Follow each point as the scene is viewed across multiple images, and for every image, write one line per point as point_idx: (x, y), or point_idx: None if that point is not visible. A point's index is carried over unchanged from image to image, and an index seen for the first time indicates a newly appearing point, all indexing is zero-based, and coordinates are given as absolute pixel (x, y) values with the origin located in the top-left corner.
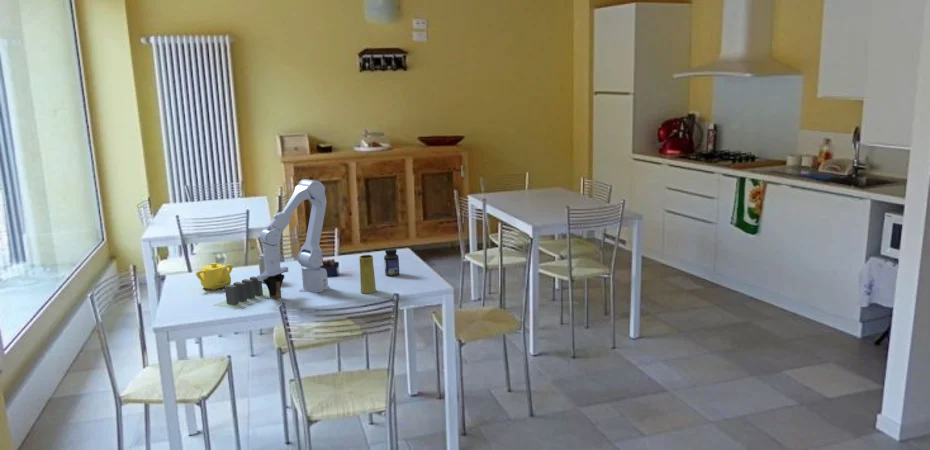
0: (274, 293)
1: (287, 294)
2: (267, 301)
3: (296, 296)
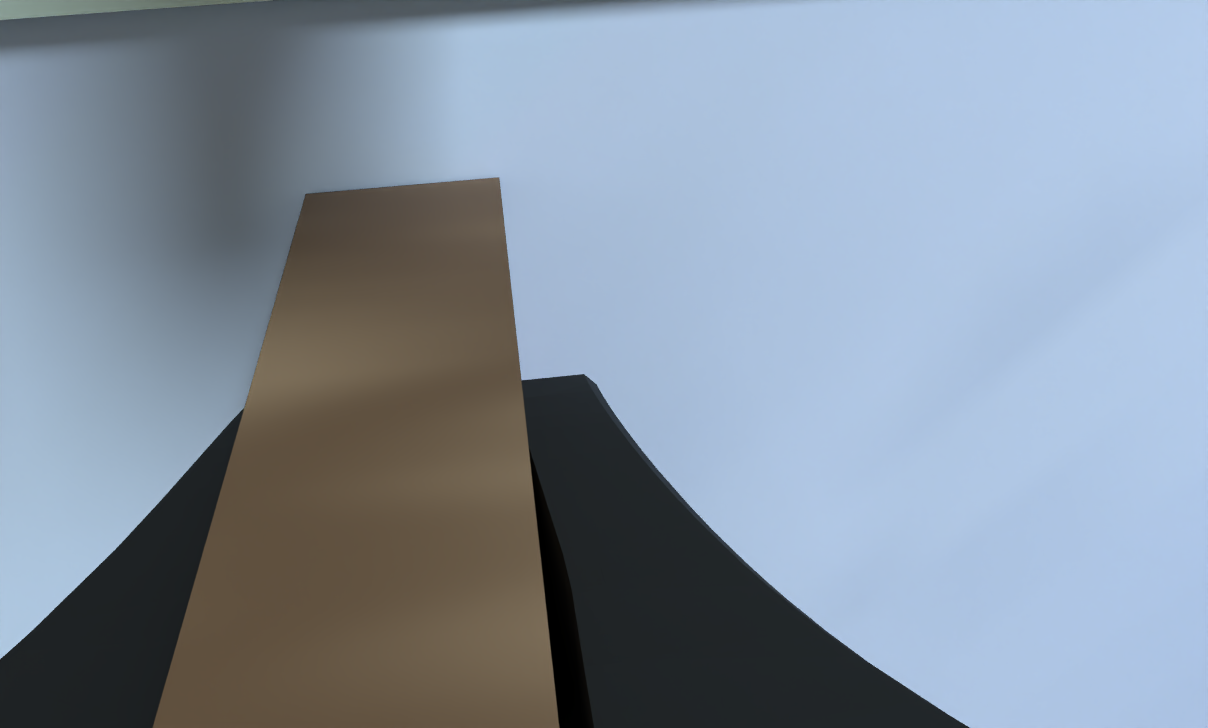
0: None
1: (994, 359)
2: (27, 391)
3: None
